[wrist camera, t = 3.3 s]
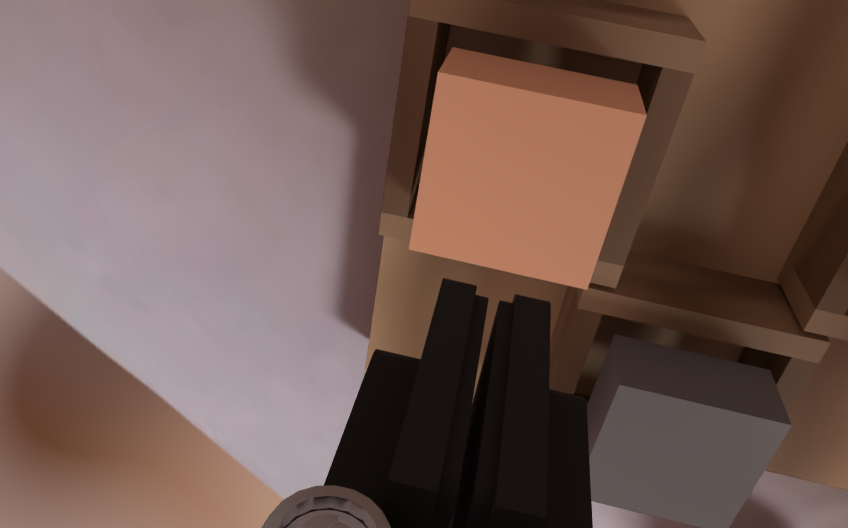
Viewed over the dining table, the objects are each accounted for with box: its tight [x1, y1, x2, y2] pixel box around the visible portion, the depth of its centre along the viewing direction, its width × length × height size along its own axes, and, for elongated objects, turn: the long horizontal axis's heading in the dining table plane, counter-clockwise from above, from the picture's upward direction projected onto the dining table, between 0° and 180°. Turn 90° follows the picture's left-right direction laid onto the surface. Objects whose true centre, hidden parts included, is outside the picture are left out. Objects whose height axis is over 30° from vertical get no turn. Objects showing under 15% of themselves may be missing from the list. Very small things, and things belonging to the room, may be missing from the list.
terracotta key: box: [409, 47, 647, 290], centre depth 18 cm, size 5×5×2 cm
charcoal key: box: [587, 334, 792, 528], centre depth 21 cm, size 5×5×2 cm
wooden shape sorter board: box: [365, 0, 848, 490], centre depth 23 cm, size 21×17×5 cm
